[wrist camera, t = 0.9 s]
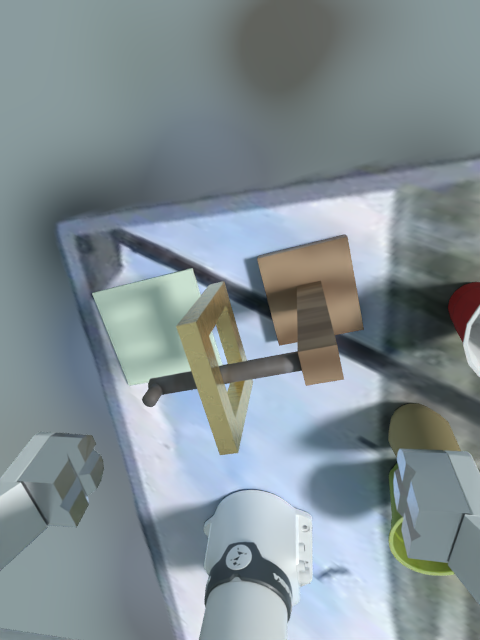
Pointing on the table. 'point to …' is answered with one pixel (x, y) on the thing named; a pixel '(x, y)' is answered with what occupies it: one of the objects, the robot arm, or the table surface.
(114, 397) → the table surface
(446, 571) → the plant pot
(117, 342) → the sage mat
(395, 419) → the squeeze bottle
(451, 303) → the plastic cup
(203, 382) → the yellow picture frame
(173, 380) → the hook stand
